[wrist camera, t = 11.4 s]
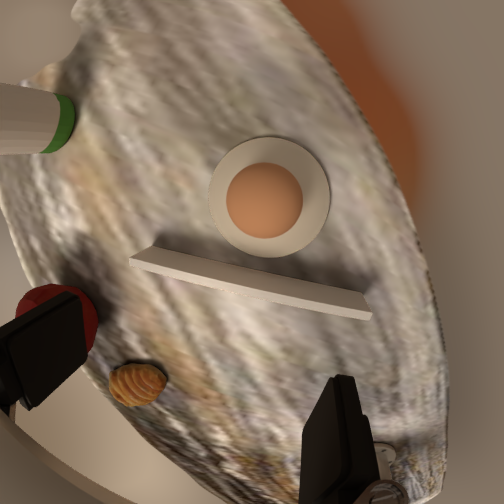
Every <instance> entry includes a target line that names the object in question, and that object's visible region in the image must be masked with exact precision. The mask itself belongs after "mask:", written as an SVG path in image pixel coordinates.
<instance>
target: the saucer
mask: <svg viewBox="0 0 504 504" xmlns="http://www.w3.org/2000/svg"><path fill="white" fill-rule="evenodd" d="M262 162H267V163H274V164H277V165H280V166H282V167H284V168H285V169H287V170H288V171H289V172H291V173H292V174H293V175H294V177H295V178H296V179H297V181H298V183H299V185H300V187H301V190H302V194H303V207H302V211H301V214H300V217H299V219H298V220H297V222H296V223H295V225H294V226H293V227H292V228H291V229H290V230H289V231H287V232H286V233H284V234H282V235H280V236H277V237H274V238H267V239H262V238H255V237H252V236H249V235H247V234H245V233H244V232H242V231H241V230H240V229H239V228H237V226H236V225H235V224H234V223H233V221H232V220H231V218H230V216H229V213H228V211H227V206H226V195H227V190H228V187H229V185H230V183H231V181H232V179H233V178H234V177H235V175H236V174H237V173H238V172H239V171H241V170H242V169H243V168H245V167H247V166H249V165H252V164H255V163H262ZM208 200H209V208H210V212H211V216H212V218H213V221H214V223H215V225H216V227H217V229H218V230H219V231H220V233H221V234H222V236H223V237H224V238H225V239H226V240H227V241H228V242H229V243H231V244H232V245H233V246H234V247H236V248H237V249H239V250H241V251H243V252H245V253H247V254H250V255H253V256H258V257H265V258H275V257H282V256H286V255H289V254H292V253H294V252H297V251H299V250H300V249H302V248H304V247H305V246H306V245H308V244H309V243H310V242H311V241H312V240H313V239H314V238H315V237H316V236H317V234H318V233H319V232H320V230H321V229H322V227H323V225H324V223H325V220H326V218H327V215H328V210H329V204H330V192H329V186H328V182H327V179H326V176H325V173H324V171H323V169H322V168H321V166H320V165H319V163H318V162H317V160H316V159H315V158H314V157H313V156H312V155H311V154H310V153H309V152H308V151H306V150H305V149H304V148H302V147H301V146H299V145H297V144H295V143H293V142H291V141H288V140H285V139H280V138H272V137H265V138H257V139H252V140H249V141H247V142H244V143H242V144H240V145H238V146H236V147H235V148H234V149H232V150H231V151H230V152H228V153H227V154H226V155H225V156H224V157H223V159H222V160H221V161H220V162H219V164H218V166H217V167H216V169H215V171H214V173H213V175H212V178H211V182H210V186H209V198H208Z"/></svg>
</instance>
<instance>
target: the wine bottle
mask: <svg viewBox="0 0 504 504" xmlns="http://www.w3.org/2000/svg"><path fill="white" fill-rule="evenodd" d="M74 120H75V111H74V106H73V104H72V102H71V100H69V99H68V98H67V97H66V96H63V95H60V94H55V93H51V92H47V91H43V90H38V89H33V88H28V87H22V86H17V85H10V84H4V83H0V155H4V154H37V153H52V152H54V151H57V150H58V149H60V148H61V147H62V146H63V145H64V144H65V142H66V141H67V140H68V138H69V136H70V134H71V131H72V129H73V125H74Z"/></svg>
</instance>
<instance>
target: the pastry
mask: <svg viewBox="0 0 504 504" xmlns="http://www.w3.org/2000/svg"><path fill="white" fill-rule="evenodd" d="M166 381H167V378H166V377H165V376H164V374H163V373H162V372H161V371H160V370H159V369H157V368H156V367H154V366H153V365H151V364H144V365H142V364H135V363H130V364H128V365H124V366H122V367H120V368H118V369H116V370H113V371H111V372H110V373H109V389H110V392H111V394H112V395H113V396H114V398H115V399H116V400H117V401H118V402H120V403H123V404H124V405H125V406H132V407H133V406H136V405H138V406H140V405H146V404H148V403H150V402H152V401H154V400H155V399H156V398H157V397H158V396H159V394H160V393H161V392H162V390H164V388H165V385H166Z"/></svg>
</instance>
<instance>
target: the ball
mask: <svg viewBox="0 0 504 504" xmlns="http://www.w3.org/2000/svg"><path fill="white" fill-rule="evenodd" d="M226 206H227V211H228V213H229V216H230V218H231V220H232V221H233V223H234V224H235V225H236V226H237V228H239V229H240V230H241V231H242V232H244V233H245V234H247V235H249V236H252V237H255V238H262V239H267V238H274V237H277V236H280V235H282V234H284V233H286V232H287V231H289V230H290V229H291V228H292V227H293V226H294V225H295V223H296V222H297V220H298V219H299V217H300V214H301V211H302V207H303V194H302V190H301V187H300V185H299V183H298V181H297V179H296V178H295V177H294V175H293V174H292V173H291V172H289V171H288V170H287V169H285V168H284V167H282V166H280V165H277V164H274V163H267V162H262V163H255V164H252V165H249V166H247V167H245V168H243V169H242V170H241V171H239V172H238V173H237V174H236V175H235V177H234V178H233V179H232V181H231V183H230V185H229V187H228V190H227V195H226Z"/></svg>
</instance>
